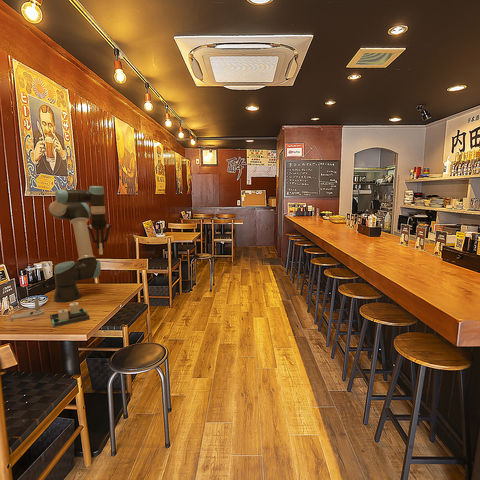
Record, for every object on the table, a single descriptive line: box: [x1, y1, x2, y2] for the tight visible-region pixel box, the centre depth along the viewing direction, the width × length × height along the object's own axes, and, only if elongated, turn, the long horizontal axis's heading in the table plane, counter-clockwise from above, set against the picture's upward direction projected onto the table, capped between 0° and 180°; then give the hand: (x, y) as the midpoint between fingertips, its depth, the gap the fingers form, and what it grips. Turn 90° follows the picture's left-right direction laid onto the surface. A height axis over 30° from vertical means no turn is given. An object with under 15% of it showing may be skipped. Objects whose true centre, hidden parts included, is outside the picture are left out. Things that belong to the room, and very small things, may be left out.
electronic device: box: [10, 298, 45, 322], centre depth 164 cm, size 5×10×15 cm
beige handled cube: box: [57, 307, 70, 321], centre depth 156 cm, size 4×4×7 cm
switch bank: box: [49, 307, 90, 328], centre depth 161 cm, size 17×16×3 cm
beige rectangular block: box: [68, 301, 80, 314], centre depth 166 cm, size 4×4×7 cm
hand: (100, 254), depth 177 cm, fingers closed
